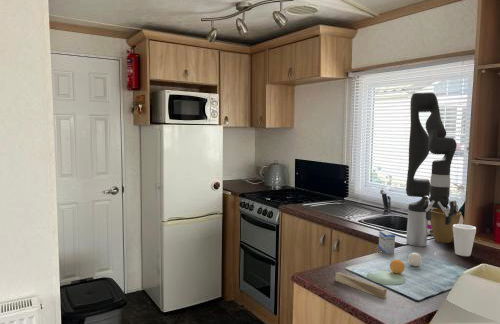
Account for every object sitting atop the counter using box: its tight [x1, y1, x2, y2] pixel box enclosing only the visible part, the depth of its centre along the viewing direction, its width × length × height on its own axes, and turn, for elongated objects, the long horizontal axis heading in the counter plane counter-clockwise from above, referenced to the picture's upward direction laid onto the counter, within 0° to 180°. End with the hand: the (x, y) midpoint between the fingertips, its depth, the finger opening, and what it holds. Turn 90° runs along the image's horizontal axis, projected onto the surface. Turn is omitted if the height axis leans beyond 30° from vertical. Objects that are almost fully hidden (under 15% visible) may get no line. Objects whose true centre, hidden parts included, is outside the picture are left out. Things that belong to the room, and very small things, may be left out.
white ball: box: [407, 252, 423, 267], centre depth 163 cm, size 6×6×6 cm
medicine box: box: [378, 230, 396, 254], centre depth 184 cm, size 8×4×9 cm, turn 5°
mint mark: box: [366, 270, 406, 286], centre depth 150 cm, size 14×14×1 cm
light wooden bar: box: [335, 271, 388, 300], centre depth 139 cm, size 2×20×3 cm, turn 39°
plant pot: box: [430, 208, 462, 244], centre depth 201 cm, size 15×15×16 cm
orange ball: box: [389, 258, 405, 275], centre depth 155 cm, size 6×6×6 cm
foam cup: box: [453, 223, 477, 257], centre depth 180 cm, size 10×9×13 cm
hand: (437, 222), depth 165 cm, fingers open, 8 cm apart
